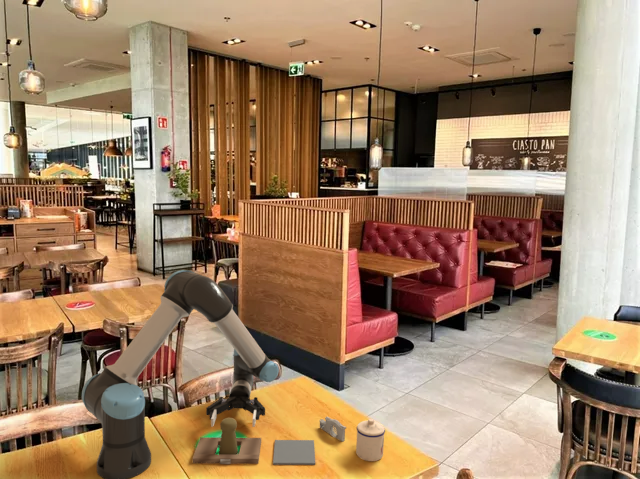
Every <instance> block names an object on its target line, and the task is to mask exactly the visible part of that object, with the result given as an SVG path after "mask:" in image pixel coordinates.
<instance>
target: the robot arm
mask: <svg viewBox="0 0 640 479" xmlns="http://www.w3.org/2000/svg"><path fill="white" fill-rule="evenodd" d="M233 307H234V304H233V303H232V301H231V300H230V299H229V297H228V296H227V294H226V292H224V290H223V289H222V288H221V287H220V285H218V283H217V282H216V281H214V280H213V279H212V278H210V277H209V276H205V275H202V274H199V273H196V272H194V271H192V270H178V271H174V272H173V273H172V274H171V275H169V276H168V277H167V279H166V280H165V282H164V291H163V293H162V294H161V295H160V304H159V306H158V307H157V308H156V309H155V311H154V312H153V313H152V315H151V316H150V317H149V318H148V320H147V321H146V322H145V323H144V325H143V326H142V328H141V329H140V330H139V331H138V332H137V334H136V335H135V336H134V337H133V339H132V341H131V342H130V343H129V345H128V346H127V347H126V348H125V349H124V351H122V353H121V355H120V356H119V357H118V358H117V360H116V361H115V363H113V364H110V365H106V366H105V367H104V369H103V370H102V372H100V373H97V374H94V375H93V376H91V377H90V378H89V379H87V380H86V382H85V384H84V386H83V387H82V391H81V400H82V403H83V405H84V406H85V409H86V410H87V411H88V412H89V413H91V414H92V416H94V418H96V419H97V421H99V423H100V424H101V428H102V429H101V430H102V446H101V448H100V451H99V454H98V457H97V461H96V473H97V475H98V476H99V477H101V478H103V479H130V478H134V477H136V476H138V475H140V474H142V473H143V472H145V471H146V470H147V469H148V468H149V467H150V466H151V464H152V452H151V449H150V447H149V444H148V442H147V440H146V437H145V436H146V435H145V434H146V433H145V431H146V429H145V428H146V424H145V423H146V422H145V420H146V419H145V416H146V414H145V406H146V399H145V394H144V391H143V389H142V388H141V387H140V386H138V384H137V383H138V382H137V381H138V377H139V376H140V375H141V373H142V372H143V371H144V370H145V368H146V367H147V365H148V364H149V363H150V362H151V360H152V358H153V357H154V356H155V355H156V354H157V352H158V351H159V349H160V348H161V346H163V344H164V342H165V341H166V339H167V338H168V337H169V335H170V334H171V333H172V331H174V329H175V327H176V326H178V324H179V322H180V321H181V319H183V318H186V317H189V316H190V315H191V314H192V312H193V311H194V310H195V311H197V312H198V313H200V314H202V316H204V317H205V318H206V319H207V321H208V322H209V323H211V324H212V323H213V324H214V325H215V326H216V327H217V328H218V329H219V331H220V332H221V334H222V335H223V337H225V339H226V340H227V342H229V344H230V346H231V347H232V348H233V376H232V377H233V379H232V380H233V381H232V385H231V389H230V393H229V396H228V398H224V397H223V396H220V397H219V398H218V399H217V400H216V401H214V402H213V403H211V404H210V405H208V406H207V407H206V411H205V413H206V414H205V415H206V416H209V420H210V427H211V428H212V427H214V425H215V422H216V419H217V415H220V414H222V413H224V412H227V411H230V410H233V409H240V410H241V409H243V411H245V412H246V411H248V412H249V413H251V414H252V428H253V427H254V428H256V422H257V421H259V420H260V416H264V417H265V416H266V407H265V406H264V405H263V404H262V403H261V402H260V401H259V399H258V397H257V396H256V397H254V398H253V399H250V397H251V393H252V389H253V384H254V377H255V378H256V379H259V381H263V382H265V383H271V382H274V381H275V380H276V378H278V375H279V371H280V370H279V365H278V364H277V363H276V362H274V361H273V360H270V358H269V357H268V356H267V355H266V353H264V350H262V348H261V347H260V345H259V344H258V342H257V341H256V340H255V338H254V337H253V336H252V334H251V333H250V331H249V330H248V329H247V328H246V326H245V325H244V323H243V321H242V320H241V319H240V317H239V316H238V315H237V314H236V312H235V310H234V309H233Z"/></svg>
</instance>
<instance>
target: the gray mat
mask: <svg viewBox="0 0 640 479" xmlns="http://www.w3.org/2000/svg"><path fill="white" fill-rule="evenodd" d="M273 446H274V448H273V449H274V450H273V458H272V459H273V460H272V465H275V466H279V465H280V466H283V465H284V466H285V465H287V466H296V465H297V466H302V465H303V466H310V465H311V466H315V465H316V451H315V448H316V447H315V440H314V439H275V440H274V445H273Z"/></svg>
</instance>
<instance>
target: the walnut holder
mask: <svg viewBox="0 0 640 479" xmlns="http://www.w3.org/2000/svg"><path fill="white" fill-rule="evenodd" d="M236 440H237V447H240V449H239V451H238V454H237V455H225V454H219V453H217V451H218V448H219V447H220V441H221V437H216V436H215V437H207V436H206V437H199V440H198V442H197V445H196V448H195V451H194V454H193V456H192V464H219V465H231V464H237V465H238V464H244V465H245V464H249V465H251V464H255V465H258V464H259V462H260V455H261V448H262V437H236Z"/></svg>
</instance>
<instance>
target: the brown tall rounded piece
mask: <svg viewBox="0 0 640 479" xmlns="http://www.w3.org/2000/svg"><path fill="white" fill-rule="evenodd" d="M237 422H238V421H237V420H236V419H235V418H233V417H225V418H223V419H221V422H220V430H221V436H220V438H221V441H220V446H218V448H219V449H218V454H225V455H238V454H239V451H238V446H237V440H236V438H237V434H236V430H237V426H238V423H237Z"/></svg>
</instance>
